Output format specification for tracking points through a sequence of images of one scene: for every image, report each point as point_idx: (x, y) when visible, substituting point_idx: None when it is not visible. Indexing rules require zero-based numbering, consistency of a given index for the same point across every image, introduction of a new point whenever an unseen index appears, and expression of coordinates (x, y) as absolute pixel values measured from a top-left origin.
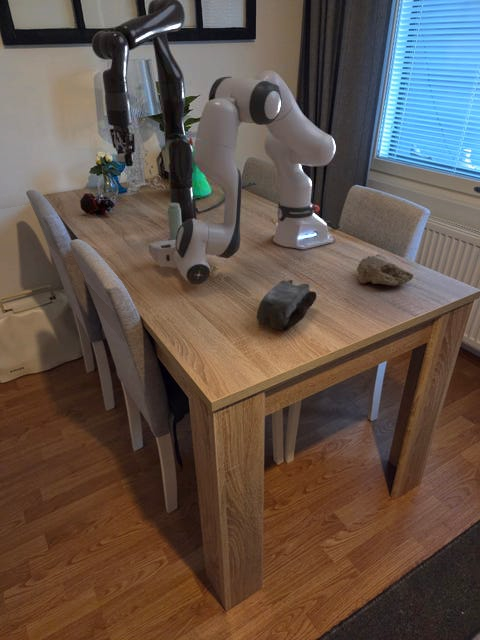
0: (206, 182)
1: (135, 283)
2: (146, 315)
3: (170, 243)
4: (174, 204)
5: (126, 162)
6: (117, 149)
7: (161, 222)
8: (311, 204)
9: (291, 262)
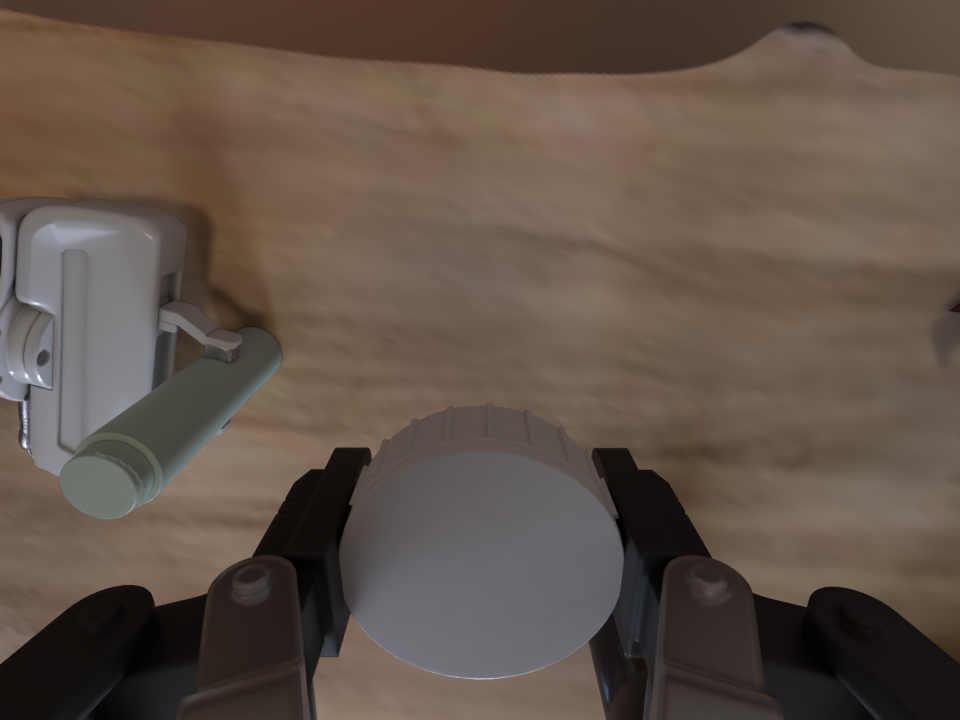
0: None
1: (50, 51)
2: None
3: (97, 314)
4: (90, 489)
5: (325, 475)
6: (661, 588)
7: (672, 482)
8: None
9: (23, 626)
